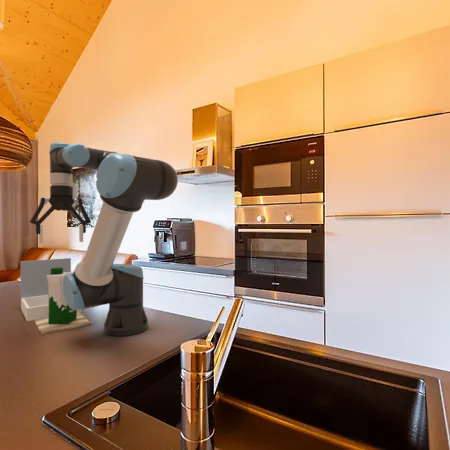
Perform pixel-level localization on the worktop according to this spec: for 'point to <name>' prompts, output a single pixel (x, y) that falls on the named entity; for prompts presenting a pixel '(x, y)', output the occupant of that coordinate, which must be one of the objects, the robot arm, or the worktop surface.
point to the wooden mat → (61, 325)
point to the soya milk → (58, 299)
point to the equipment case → (38, 286)
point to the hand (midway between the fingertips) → (61, 242)
